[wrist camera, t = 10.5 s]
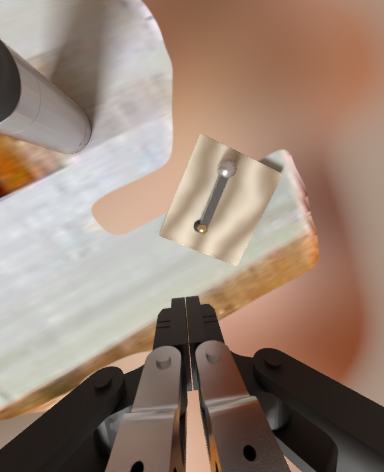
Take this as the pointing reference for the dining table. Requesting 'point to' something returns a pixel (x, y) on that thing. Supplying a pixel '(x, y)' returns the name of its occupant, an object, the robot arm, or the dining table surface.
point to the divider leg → (216, 193)
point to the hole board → (229, 206)
